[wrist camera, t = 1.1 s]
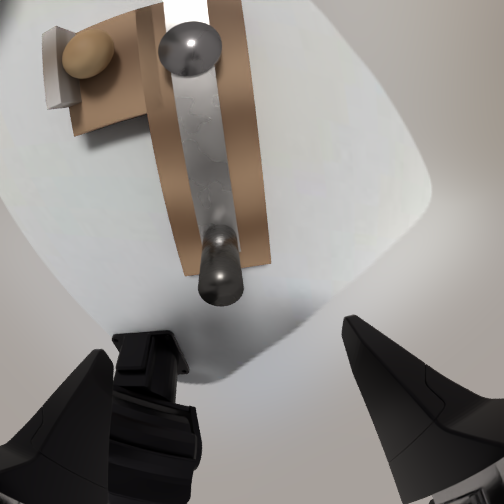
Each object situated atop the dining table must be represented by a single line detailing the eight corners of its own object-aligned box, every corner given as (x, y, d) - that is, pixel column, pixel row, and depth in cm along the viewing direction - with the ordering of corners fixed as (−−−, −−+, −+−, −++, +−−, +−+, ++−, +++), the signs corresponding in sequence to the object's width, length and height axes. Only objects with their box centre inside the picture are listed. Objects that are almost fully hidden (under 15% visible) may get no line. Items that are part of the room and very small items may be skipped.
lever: (247, 241, 18) (259, 300, 12) (198, 248, 17) (191, 310, 12) (215, -2, 10) (213, -52, 5) (158, 9, 10) (129, -33, 5)
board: (266, 249, 20) (279, 290, 16) (128, 270, 20) (109, 312, 16) (237, 1, 11) (243, -32, 7) (76, 44, 11) (37, 32, 7)
